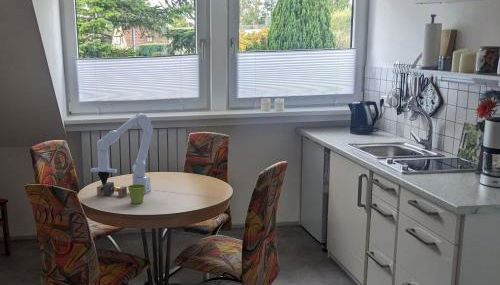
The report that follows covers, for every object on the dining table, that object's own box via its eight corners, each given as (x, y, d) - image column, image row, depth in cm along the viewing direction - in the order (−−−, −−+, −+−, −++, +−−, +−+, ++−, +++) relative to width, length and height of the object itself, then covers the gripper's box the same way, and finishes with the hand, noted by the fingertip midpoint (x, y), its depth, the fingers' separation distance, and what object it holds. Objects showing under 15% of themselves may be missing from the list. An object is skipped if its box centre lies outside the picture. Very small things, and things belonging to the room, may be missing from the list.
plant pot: (130, 199, 281) (130, 183, 279) (148, 199, 280) (147, 184, 279) (125, 204, 271) (125, 188, 270) (144, 205, 271) (143, 188, 270)
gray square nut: (114, 192, 293) (113, 182, 292) (108, 195, 287) (108, 184, 286) (109, 192, 293) (108, 181, 292) (103, 195, 288) (103, 184, 287)
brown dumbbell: (126, 194, 290) (126, 186, 289) (122, 197, 285) (122, 188, 284) (102, 192, 294) (101, 184, 293) (97, 195, 289) (96, 186, 289)
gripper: (118, 160, 290) (119, 184, 293) (94, 159, 293) (95, 182, 295) (113, 162, 283) (114, 187, 286) (88, 161, 286) (89, 186, 288)
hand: (104, 185), depth 290 cm, fingers closed
